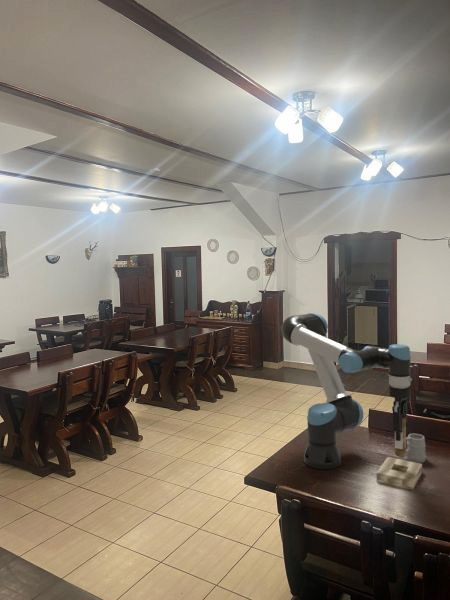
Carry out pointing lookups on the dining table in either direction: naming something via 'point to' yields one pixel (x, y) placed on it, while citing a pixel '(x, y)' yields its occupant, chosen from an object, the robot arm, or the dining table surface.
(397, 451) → the leg
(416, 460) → the mug
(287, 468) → the dining table surface
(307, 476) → the dining table surface
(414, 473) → the wooden block with hole
